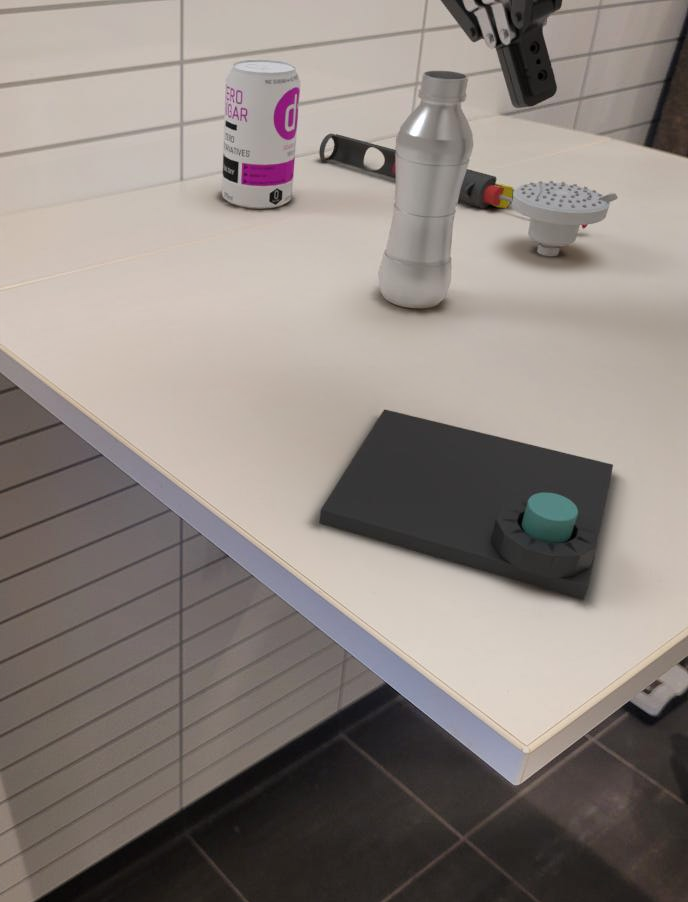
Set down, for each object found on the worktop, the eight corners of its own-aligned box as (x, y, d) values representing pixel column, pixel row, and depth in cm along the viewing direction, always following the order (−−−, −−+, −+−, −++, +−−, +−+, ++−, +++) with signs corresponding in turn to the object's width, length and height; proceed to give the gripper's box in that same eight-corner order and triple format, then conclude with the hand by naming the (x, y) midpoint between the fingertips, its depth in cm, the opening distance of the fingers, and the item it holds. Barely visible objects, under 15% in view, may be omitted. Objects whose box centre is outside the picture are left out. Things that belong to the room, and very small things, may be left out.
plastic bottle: (422, 323, 84) (461, 87, 73) (360, 301, 88) (389, 73, 77) (459, 303, 88) (502, 76, 77) (398, 282, 92) (431, 63, 81)
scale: (607, 481, 64) (619, 444, 63) (581, 608, 54) (595, 567, 52) (381, 425, 70) (387, 389, 68) (316, 530, 59) (321, 491, 57)
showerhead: (619, 207, 90) (512, 194, 93) (599, 279, 94) (497, 264, 97) (618, 180, 98) (519, 168, 100) (599, 248, 102) (505, 234, 104)
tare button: (573, 523, 56) (581, 499, 55) (567, 550, 54) (575, 525, 53) (525, 510, 57) (532, 487, 56) (517, 536, 55) (524, 512, 54)
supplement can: (303, 199, 113) (314, 65, 104) (268, 218, 107) (277, 77, 98) (245, 186, 116) (251, 55, 108) (208, 203, 110) (212, 66, 102)
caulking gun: (363, 134, 129) (317, 131, 122) (619, 202, 107) (581, 203, 100) (356, 164, 130) (311, 163, 124) (607, 237, 108) (568, 240, 102)
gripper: (578, -309, 44) (664, 62, 50) (449, -202, 56) (531, 86, 62) (438, -244, 43) (542, 122, 50) (339, -150, 56) (432, 134, 62)
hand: (535, 101), depth 56 cm, fingers closed
